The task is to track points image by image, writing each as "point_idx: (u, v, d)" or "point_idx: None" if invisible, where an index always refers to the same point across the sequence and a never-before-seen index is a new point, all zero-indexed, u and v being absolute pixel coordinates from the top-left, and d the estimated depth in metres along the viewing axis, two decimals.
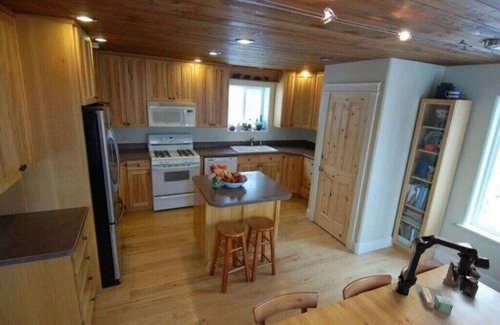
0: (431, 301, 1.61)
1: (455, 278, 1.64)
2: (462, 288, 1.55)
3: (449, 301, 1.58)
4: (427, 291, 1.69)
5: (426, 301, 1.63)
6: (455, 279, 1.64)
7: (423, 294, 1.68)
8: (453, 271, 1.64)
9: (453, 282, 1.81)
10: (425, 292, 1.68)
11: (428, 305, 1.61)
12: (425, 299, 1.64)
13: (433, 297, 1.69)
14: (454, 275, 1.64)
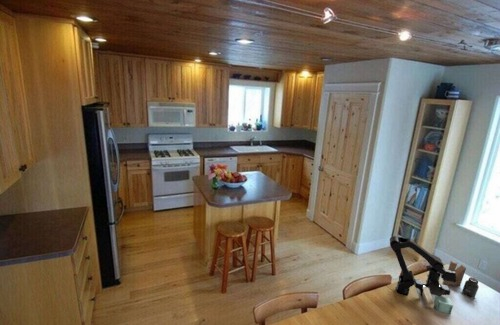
0: (431, 301, 1.61)
1: None
2: (420, 292, 1.68)
3: (449, 301, 1.58)
4: (427, 291, 1.69)
5: (426, 301, 1.63)
6: None
7: (423, 294, 1.68)
8: None
9: None
10: (425, 292, 1.68)
11: (428, 305, 1.61)
12: (425, 299, 1.64)
13: (433, 297, 1.69)
14: None
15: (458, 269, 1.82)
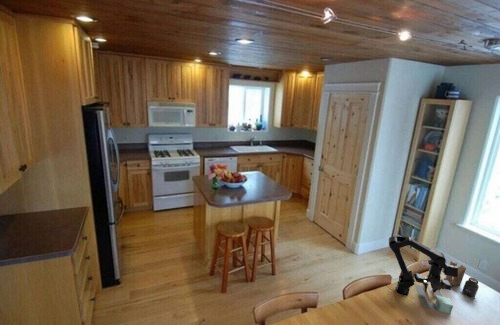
0: (433, 297, 1.59)
1: None
2: (424, 287, 1.66)
3: (449, 301, 1.58)
4: (429, 287, 1.68)
5: (428, 297, 1.61)
6: None
7: None
8: None
9: (453, 282, 1.81)
10: (427, 288, 1.66)
11: (430, 301, 1.59)
12: (427, 295, 1.63)
13: None
14: None
15: (458, 269, 1.82)
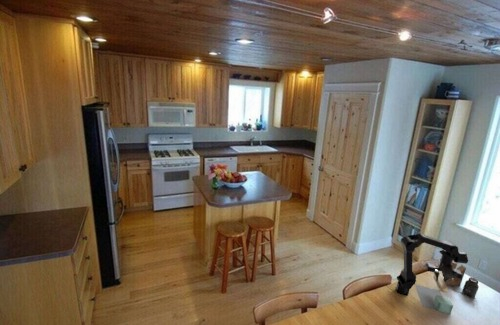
0: (444, 285, 1.62)
1: (444, 279, 1.67)
2: None
3: (449, 301, 1.58)
4: (440, 276, 1.70)
5: (439, 286, 1.64)
6: None
7: None
8: None
9: (453, 282, 1.81)
10: (438, 277, 1.69)
11: (442, 289, 1.62)
12: (438, 284, 1.65)
13: (433, 297, 1.69)
14: (444, 276, 1.68)
15: (458, 269, 1.82)
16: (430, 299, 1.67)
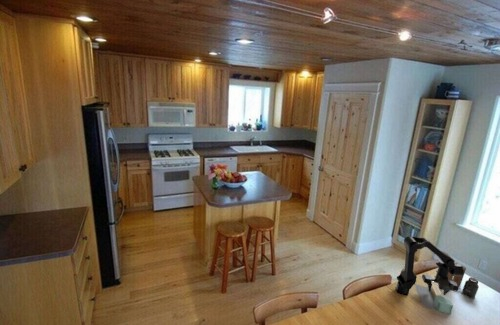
0: None
1: (444, 292, 1.69)
2: (428, 287, 1.71)
3: (449, 301, 1.58)
4: (436, 288, 1.73)
5: None
6: (443, 293, 1.69)
7: (432, 291, 1.72)
8: None
9: None
10: (434, 289, 1.71)
11: None
12: (435, 295, 1.68)
13: (433, 297, 1.69)
14: None
15: None
16: (430, 299, 1.67)
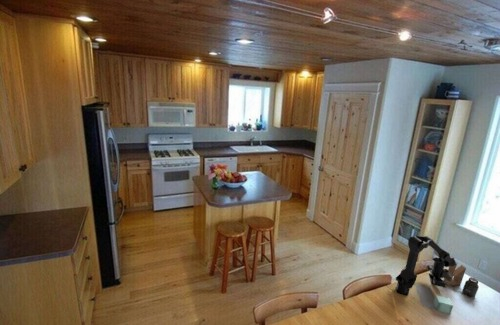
0: None
1: (432, 283, 1.77)
2: (434, 284, 1.76)
3: (449, 301, 1.58)
4: (437, 288, 1.72)
5: None
6: None
7: (433, 291, 1.72)
8: None
9: (453, 282, 1.81)
10: (435, 289, 1.71)
11: None
12: (435, 296, 1.67)
13: (433, 297, 1.69)
14: None
15: (458, 269, 1.82)
16: (430, 299, 1.67)
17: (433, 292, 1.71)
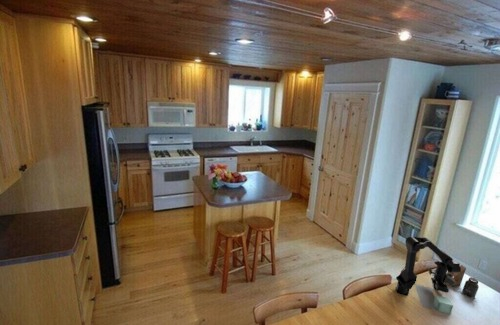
0: None
1: None
2: (436, 288, 1.72)
3: (449, 301, 1.58)
4: (439, 293, 1.68)
5: None
6: None
7: (435, 296, 1.67)
8: (433, 281, 1.73)
9: None
10: (437, 294, 1.67)
11: None
12: None
13: (433, 297, 1.69)
14: None
15: None
16: (430, 299, 1.67)
17: None
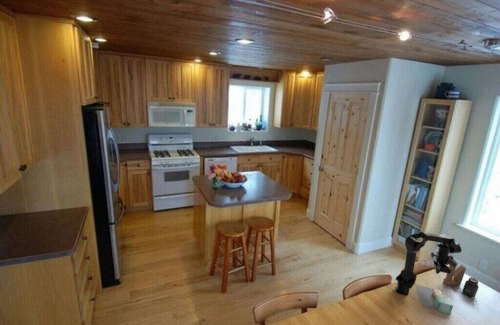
0: None
1: None
2: (438, 271, 1.73)
3: (449, 301, 1.58)
4: (439, 293, 1.68)
5: None
6: None
7: (435, 296, 1.67)
8: None
9: (453, 282, 1.81)
10: None
11: None
12: None
13: (433, 297, 1.69)
14: None
15: (458, 269, 1.82)
16: (430, 299, 1.67)
17: None
